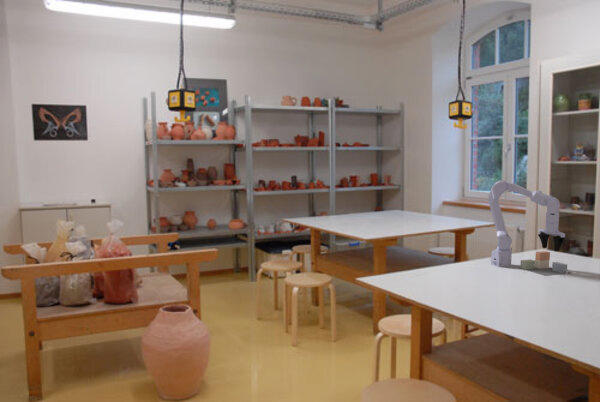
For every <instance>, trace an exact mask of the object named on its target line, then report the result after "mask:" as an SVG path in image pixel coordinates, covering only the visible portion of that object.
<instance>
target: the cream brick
mask: <svg viewBox="0 0 600 402" xmlns="http://www.w3.org/2000/svg"><path fill="white" fill-rule="evenodd" d="M534 261H535V268H539V269H542V268H550V260H543V261H539V260H534Z"/></svg>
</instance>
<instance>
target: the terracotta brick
mask: <svg viewBox="0 0 600 402" xmlns="http://www.w3.org/2000/svg"><path fill="white" fill-rule="evenodd" d="M550 257H551V252H550V251H548V250H540V251H535V258H534V259H535V260H539V261H543V260H549V261H550ZM535 260H534V261H535Z"/></svg>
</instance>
